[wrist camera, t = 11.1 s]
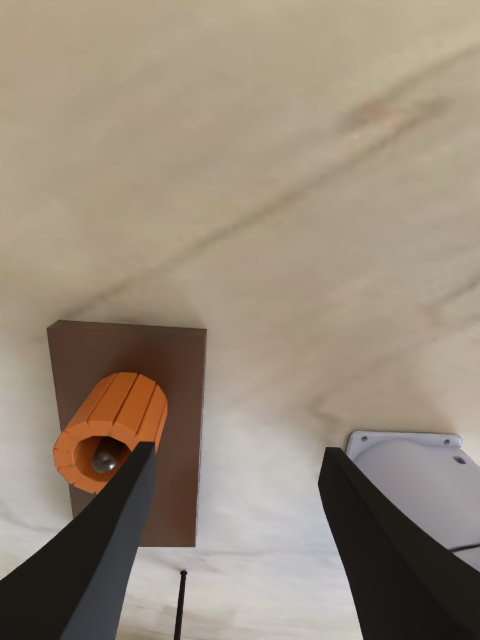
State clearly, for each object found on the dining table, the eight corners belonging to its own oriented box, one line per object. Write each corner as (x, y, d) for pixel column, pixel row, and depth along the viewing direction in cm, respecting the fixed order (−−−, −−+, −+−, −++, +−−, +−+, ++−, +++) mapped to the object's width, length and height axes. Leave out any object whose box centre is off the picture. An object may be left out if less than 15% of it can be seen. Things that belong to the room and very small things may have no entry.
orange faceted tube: (167, 373, 21) (150, 422, 16) (167, 436, 22) (152, 496, 18) (88, 370, 20) (47, 418, 16) (94, 433, 22) (59, 494, 17)
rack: (207, 328, 21) (199, 383, 15) (196, 530, 28) (188, 630, 21) (58, 319, 21) (-22, 373, 14) (84, 529, 27) (39, 632, 21)
